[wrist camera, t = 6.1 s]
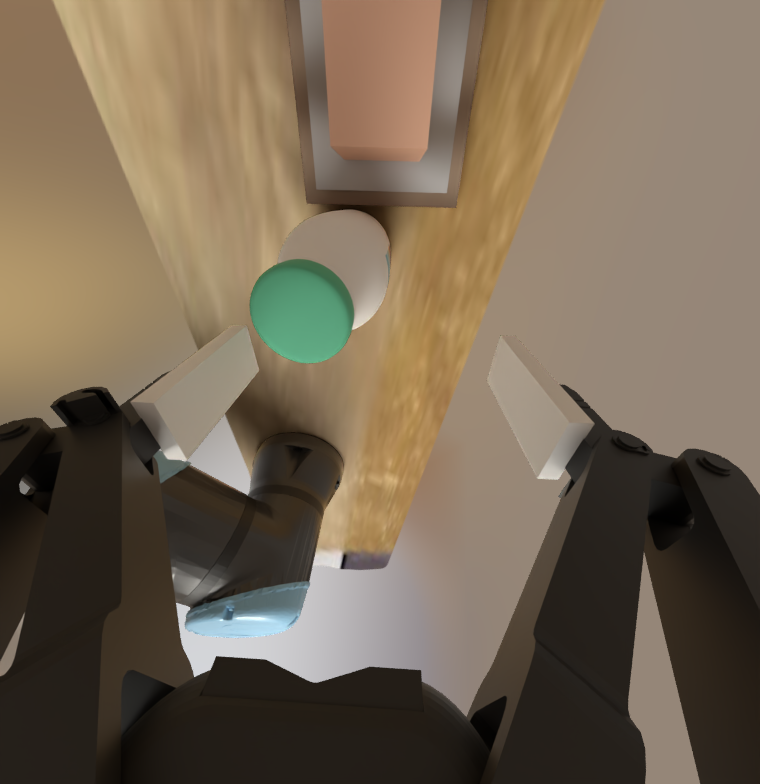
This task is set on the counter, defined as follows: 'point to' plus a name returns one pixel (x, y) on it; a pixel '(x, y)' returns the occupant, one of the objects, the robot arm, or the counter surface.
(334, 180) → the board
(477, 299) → the counter surface
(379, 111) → the terracotta block
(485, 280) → the counter surface
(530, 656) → the robot arm
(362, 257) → the milk bottle
